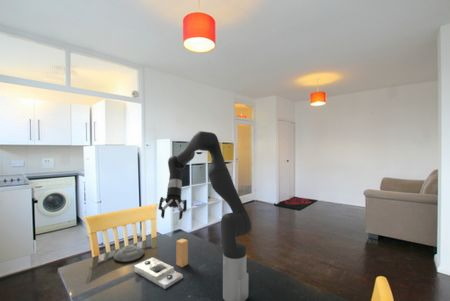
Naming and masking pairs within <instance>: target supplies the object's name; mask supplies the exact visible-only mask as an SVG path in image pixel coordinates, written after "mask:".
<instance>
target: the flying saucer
mask: <svg viewBox="0 0 450 301" xmlns="http://www.w3.org/2000/svg"><path fill="white" fill-rule="evenodd" d="M143 255H145V250H144V249H143V248H142V247H141V246H137V245H129V246H124V247H122V248H120V249H119V250H117V251H116V252H115V253H114V255H113V259H114V261H117V262H131V261H135V260H139V259H140V258H141V257H143Z"/></svg>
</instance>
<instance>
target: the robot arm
mask: <svg viewBox="0 0 450 301" xmlns="http://www.w3.org/2000/svg"><path fill="white" fill-rule="evenodd" d="M192 136H193V137H192V138H191V139H190V140H189V142H188V144H187V145H186V146H185V148H184V149H183V150H181V151H180V152H179V153H178V154H177V155H170V157H168V160H167V165H168V172H169V176H168V177H169V179H168V184H167V192H166V198H165V197H163V196H161V197H160V200H159V204H158V210H159V211H161V213H160V217H161V218H162V219H165V213H166V212H165V211H166V209H167V208H168V207H169V208H176V209H177V210H178V211H179V214H178V220H182V218H183V215H184V214H183V213H185V212H186V211H187V206H188V204H187V199H182V187H183V182H182V181H183V172H182V170H185V168H186V167H187V164H188V163H190V161H192V160H193V159H194V157H195V155H196V152H197V151H203V152H204V151H205V152H209V154H210V158H211V162H210V166H209V169H208V179H209V181H210V184H211V187H212V189H213V191H214V192H215V193H216V194H218V196H219V197H221V198H222V199H223V200H224V201H225V202H226V203H227V205H228V206H229V208H230V210H231V212H228V213H224V214H223V215H222V216H221V220H220V232H221V233H220V235H221V248H222V299H223V300H224V301H246V300H247V299H248V298H249V272H247V247H246V245H245V244H244V243H242V242H239V241H237V238H239V237H241V236H246V235H248V234H249V233H250V232H251V231H252V223H251V219H250V218H251V217H250V216H249V214H248V211H247V209H246V207H245V206H244V204H243V201H242V200H241V198H240V195H239V194H238V191H237V189H236V187H235V184H234V182H233V178H232V175H231V174H230V171H229V168H228V166H227V163H226V161H225V158H224V156H223V152H222V149H221V146H220V141H219V138H218V136H217V134H215V133H214V132H210V131H209V132H208V131H203V130H202V131H201V130H200V131H197V132H196V133H195V134H194V135H192ZM164 202H165V203H166V204H165V205H164V206H162V205H163V203H164ZM181 204H182V205H183V207H182V205H181Z"/></svg>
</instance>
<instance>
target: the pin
mask: <svg viewBox="0 0 450 301" xmlns="http://www.w3.org/2000/svg"><path fill="white" fill-rule="evenodd" d="M188 241H189V240H188V239H184V238H180V239H178V240H176V242H175V243H176V244H175V246H176V247H175V248H176V251H175V254H176V256H175V262H176V263H175V264H176V266H178V267H180V268H184V267H185V266H187V265H188V264H189V263H188V262H189V256H188V255H189V254H188V253H189V249H188V248H189V246H188V245H189V244H188V243H189V242H188Z"/></svg>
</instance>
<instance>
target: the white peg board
mask: <svg viewBox="0 0 450 301" xmlns="http://www.w3.org/2000/svg"><path fill="white" fill-rule="evenodd" d="M174 267H175V266H172V265H170V264H168V263H165V262H163V261H162V260H160V259H157V258H155V257H153V256H152V257H150V258H147V259H146V260H144V261H140V262H139V263H137V264H134V273H136V274H138V275H139V276H141V277H143V278H145V279H147V280H148V281H150V282H152V283H153V284H155V285H157V286H159V287H160V288H163V289H164V290H166V289H167V288H169V287H171V286H172V285H173V284H175V283H177V282H179V281H180V280H182V279H183V277H184V276H183V273H181V272H178V271H176V270H175V269H174ZM158 271H159V272H158Z"/></svg>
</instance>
